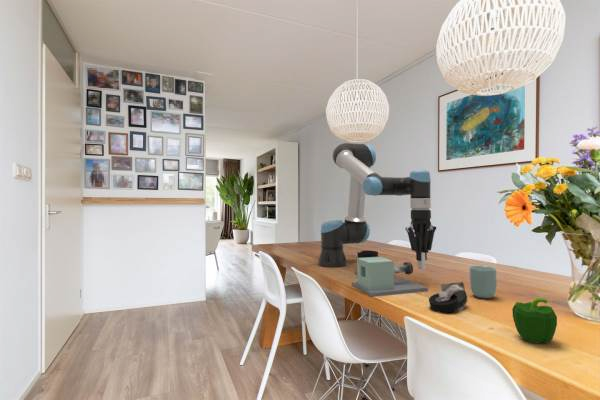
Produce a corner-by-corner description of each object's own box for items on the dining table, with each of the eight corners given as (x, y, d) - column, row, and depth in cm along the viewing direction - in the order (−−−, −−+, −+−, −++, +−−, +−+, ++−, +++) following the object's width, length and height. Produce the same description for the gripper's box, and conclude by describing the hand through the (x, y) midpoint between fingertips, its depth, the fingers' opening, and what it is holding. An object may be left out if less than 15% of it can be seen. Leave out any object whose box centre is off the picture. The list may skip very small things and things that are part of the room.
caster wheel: (433, 320, 92) (429, 305, 102) (475, 316, 89) (467, 300, 98) (428, 299, 92) (425, 286, 101) (470, 294, 88) (462, 280, 98)
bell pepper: (505, 337, 75) (504, 295, 75) (522, 329, 79) (521, 290, 79) (547, 351, 67) (546, 305, 68) (563, 342, 72) (562, 298, 72)
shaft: (371, 275, 120) (370, 263, 120) (406, 272, 124) (405, 261, 124) (376, 278, 115) (376, 265, 115) (413, 275, 119) (413, 263, 120)
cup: (489, 293, 110) (488, 265, 110) (501, 300, 102) (500, 270, 102) (466, 293, 110) (465, 265, 111) (476, 300, 103) (476, 270, 103)
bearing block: (351, 285, 124) (351, 257, 124) (402, 280, 130) (402, 253, 130) (371, 296, 108) (370, 264, 109) (427, 290, 114) (427, 260, 115)
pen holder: (354, 271, 148) (354, 250, 148) (373, 270, 150) (373, 250, 150) (362, 276, 139) (361, 253, 139) (381, 275, 141) (381, 253, 141)
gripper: (412, 209, 118) (413, 271, 118) (441, 209, 122) (442, 269, 121) (400, 209, 125) (401, 268, 125) (428, 208, 129) (429, 265, 129)
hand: (421, 268), depth 123 cm, fingers closed
